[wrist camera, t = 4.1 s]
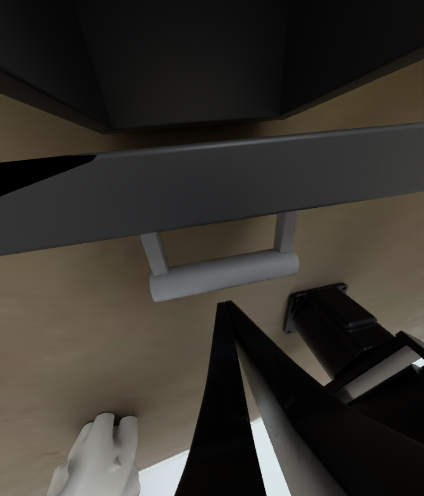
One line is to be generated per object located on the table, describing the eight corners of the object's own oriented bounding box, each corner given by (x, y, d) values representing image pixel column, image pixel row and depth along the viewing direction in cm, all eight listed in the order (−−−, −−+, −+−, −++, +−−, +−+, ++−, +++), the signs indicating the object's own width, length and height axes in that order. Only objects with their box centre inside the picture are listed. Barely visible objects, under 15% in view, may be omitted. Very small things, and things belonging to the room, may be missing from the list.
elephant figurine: (47, 439, 22) (-27, 591, 14) (100, 400, 20) (47, 554, 12) (111, 443, 26) (82, 560, 18) (160, 410, 24) (151, 528, 16)
